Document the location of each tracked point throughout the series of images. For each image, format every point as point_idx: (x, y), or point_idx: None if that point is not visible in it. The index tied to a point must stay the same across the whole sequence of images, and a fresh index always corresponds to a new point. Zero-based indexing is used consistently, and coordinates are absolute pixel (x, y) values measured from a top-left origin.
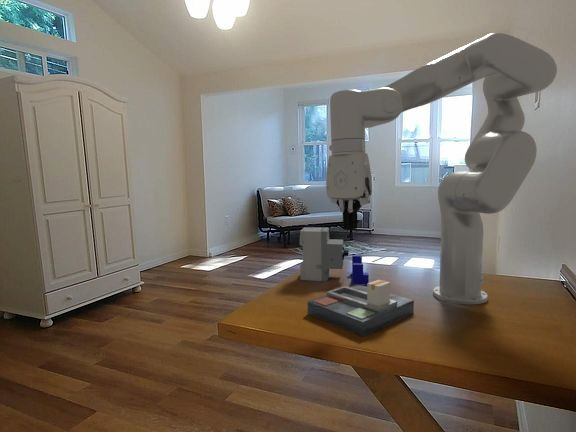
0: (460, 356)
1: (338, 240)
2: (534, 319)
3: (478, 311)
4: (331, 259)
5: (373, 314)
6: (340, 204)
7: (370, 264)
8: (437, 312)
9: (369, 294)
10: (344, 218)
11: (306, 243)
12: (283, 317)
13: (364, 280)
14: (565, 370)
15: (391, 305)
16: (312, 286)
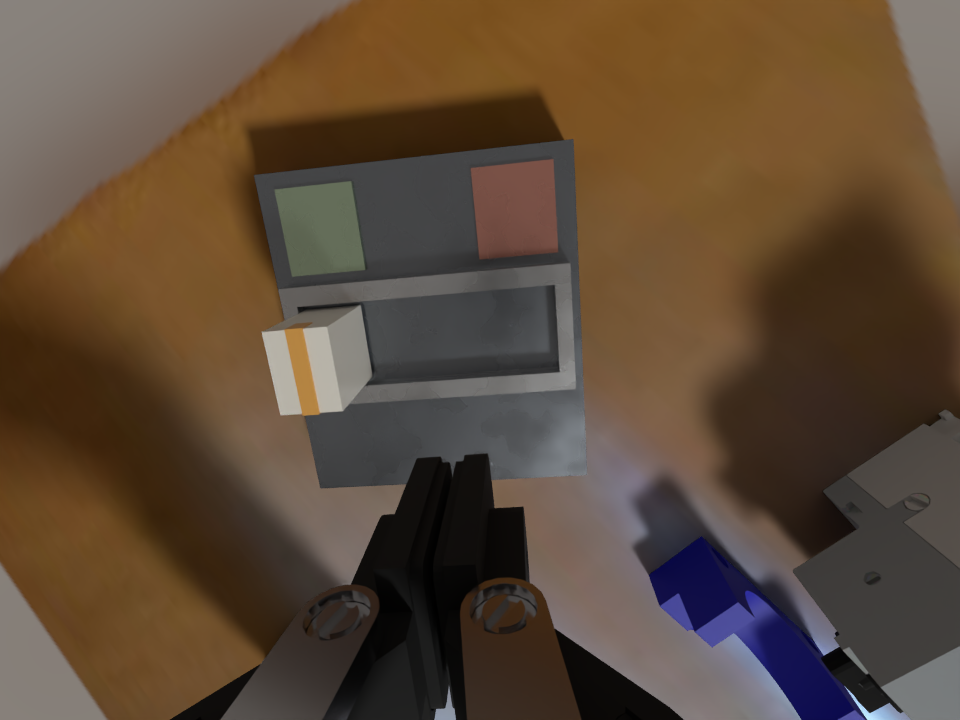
0: (57, 312)
1: None
2: (135, 651)
3: (242, 607)
4: (876, 578)
5: (290, 263)
6: (533, 678)
7: None
8: (300, 520)
9: (332, 315)
10: (453, 515)
11: None
12: (608, 25)
13: (667, 577)
14: None
15: None
16: (819, 389)
